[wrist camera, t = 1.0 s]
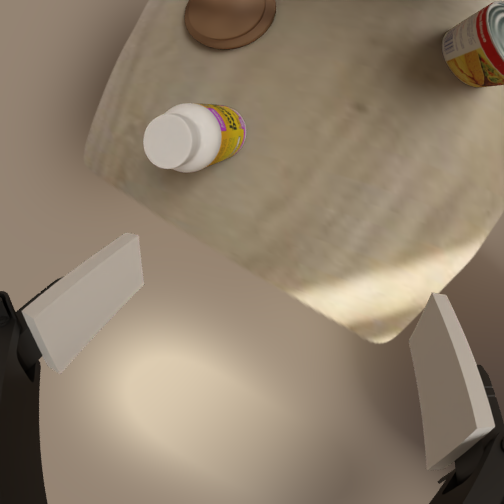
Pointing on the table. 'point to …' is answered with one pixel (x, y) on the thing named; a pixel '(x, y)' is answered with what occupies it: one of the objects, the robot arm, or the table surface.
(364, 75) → the table surface
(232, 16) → the plinth
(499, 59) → the canned food
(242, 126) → the supplement bottle
